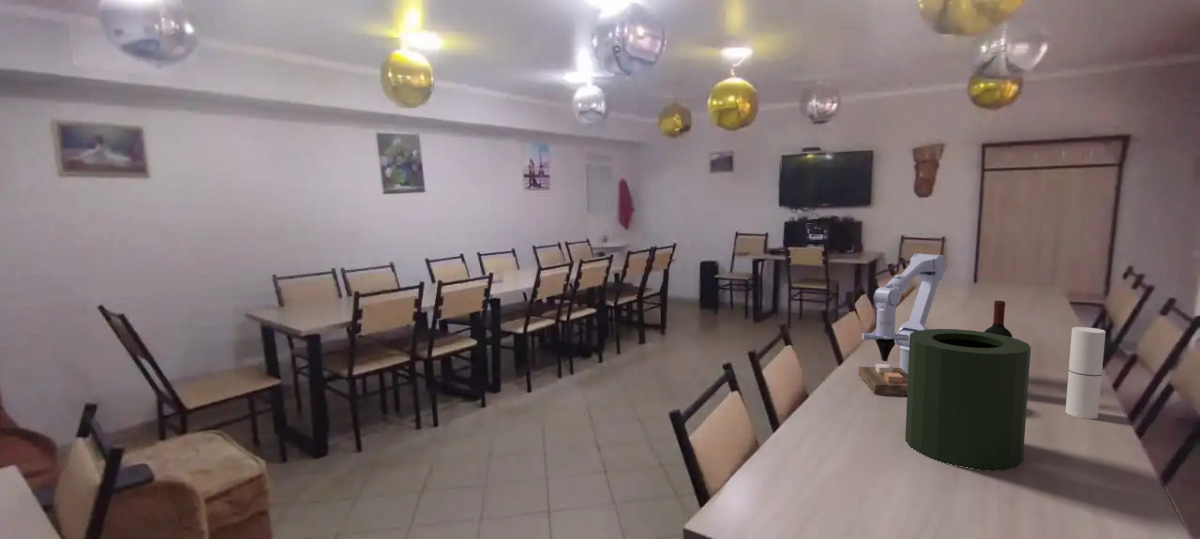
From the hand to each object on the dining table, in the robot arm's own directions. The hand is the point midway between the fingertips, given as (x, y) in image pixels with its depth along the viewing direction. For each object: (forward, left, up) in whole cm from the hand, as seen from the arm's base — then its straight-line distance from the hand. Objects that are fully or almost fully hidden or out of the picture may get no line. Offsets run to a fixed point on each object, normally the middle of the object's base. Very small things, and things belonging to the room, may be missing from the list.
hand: (884, 360), depth 192 cm
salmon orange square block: (0, +10, -5) cm, 11 cm away
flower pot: (-3, +53, -8) cm, 54 cm away
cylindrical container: (-46, +25, -8) cm, 53 cm away
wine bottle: (-31, +8, -8) cm, 33 cm away
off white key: (0, 0, -5) cm, 5 cm away
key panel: (0, +5, -7) cm, 9 cm away
